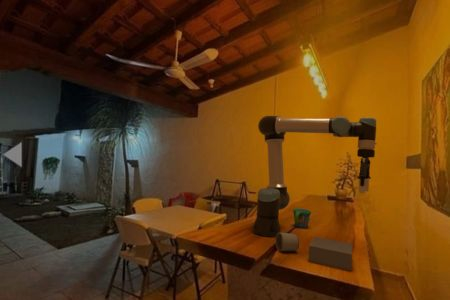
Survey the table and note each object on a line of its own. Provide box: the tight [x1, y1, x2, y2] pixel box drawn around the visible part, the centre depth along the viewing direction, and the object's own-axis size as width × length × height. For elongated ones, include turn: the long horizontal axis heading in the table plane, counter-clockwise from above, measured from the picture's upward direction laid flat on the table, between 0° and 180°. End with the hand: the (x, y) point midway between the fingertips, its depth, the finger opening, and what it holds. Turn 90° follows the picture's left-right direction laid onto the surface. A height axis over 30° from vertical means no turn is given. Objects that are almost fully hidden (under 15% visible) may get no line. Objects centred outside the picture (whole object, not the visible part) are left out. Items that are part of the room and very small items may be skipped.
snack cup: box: [292, 208, 312, 229], centre depth 154 cm, size 16×10×10 cm
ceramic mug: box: [275, 231, 300, 252], centre depth 111 cm, size 11×8×8 cm
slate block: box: [308, 236, 353, 272], centre depth 102 cm, size 15×15×6 cm
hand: (363, 192), depth 124 cm, fingers open, 13 cm apart
